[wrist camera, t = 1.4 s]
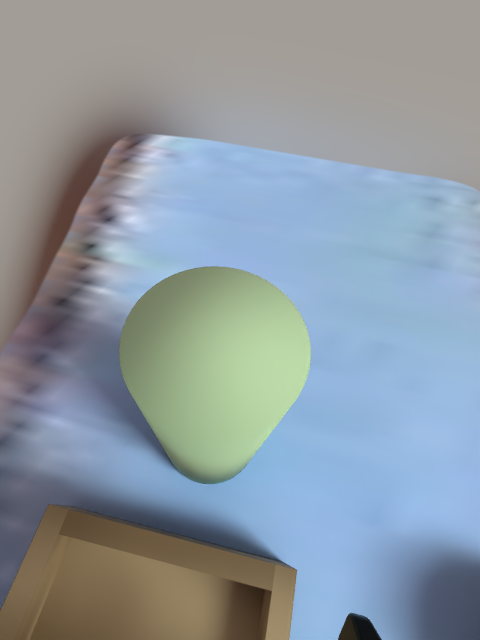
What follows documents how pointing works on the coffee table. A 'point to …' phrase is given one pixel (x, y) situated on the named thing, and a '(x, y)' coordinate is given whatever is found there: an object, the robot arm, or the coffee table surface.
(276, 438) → the coffee table surface
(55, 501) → the coffee table surface
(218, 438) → the green rounded tapered cylinder
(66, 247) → the coffee table surface
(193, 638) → the tray
